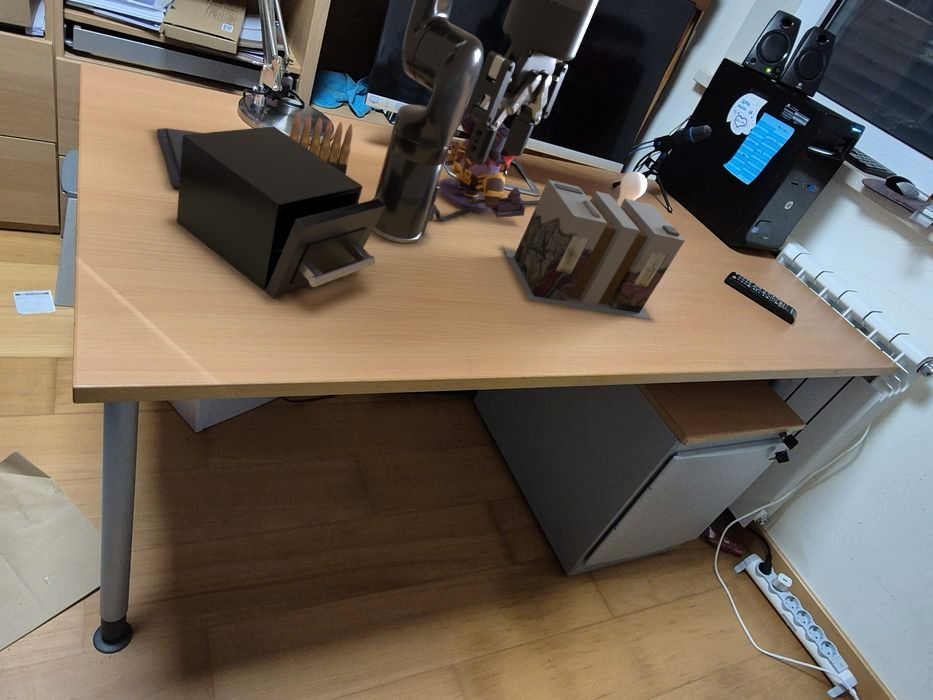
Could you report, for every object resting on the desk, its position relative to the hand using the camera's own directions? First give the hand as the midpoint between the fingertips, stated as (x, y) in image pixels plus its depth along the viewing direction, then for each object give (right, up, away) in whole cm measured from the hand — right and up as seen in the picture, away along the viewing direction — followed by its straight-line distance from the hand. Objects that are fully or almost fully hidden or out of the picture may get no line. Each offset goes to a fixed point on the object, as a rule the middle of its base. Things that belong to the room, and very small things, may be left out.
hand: (493, 156), depth 66 cm
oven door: (-23, -12, +20) cm, 33 cm away
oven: (-33, -5, +23) cm, 40 cm away
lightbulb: (+34, +12, +84) cm, 92 cm away
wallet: (-45, +10, +36) cm, 58 cm away
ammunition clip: (-30, +8, +43) cm, 53 cm away
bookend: (+17, -9, +48) cm, 51 cm away
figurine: (-2, +10, +61) cm, 62 cm away
